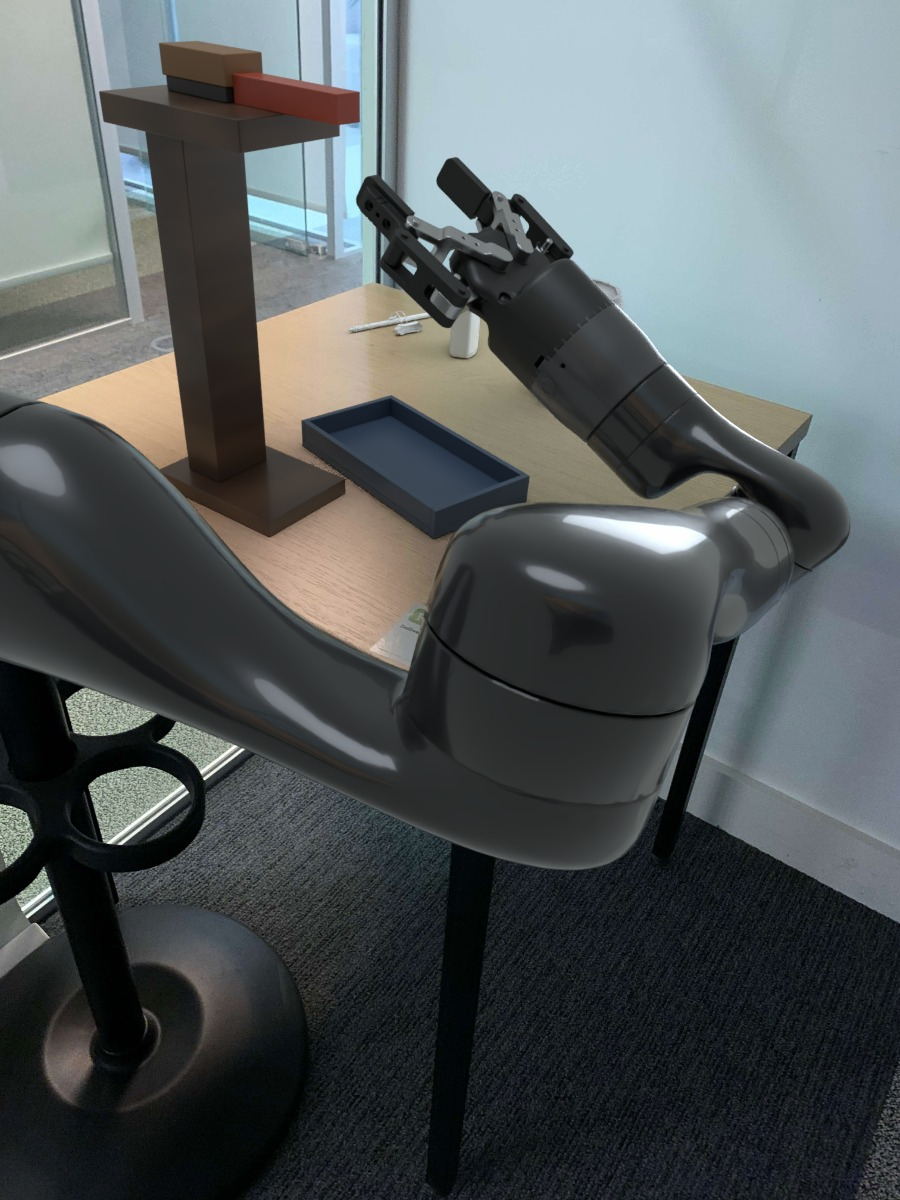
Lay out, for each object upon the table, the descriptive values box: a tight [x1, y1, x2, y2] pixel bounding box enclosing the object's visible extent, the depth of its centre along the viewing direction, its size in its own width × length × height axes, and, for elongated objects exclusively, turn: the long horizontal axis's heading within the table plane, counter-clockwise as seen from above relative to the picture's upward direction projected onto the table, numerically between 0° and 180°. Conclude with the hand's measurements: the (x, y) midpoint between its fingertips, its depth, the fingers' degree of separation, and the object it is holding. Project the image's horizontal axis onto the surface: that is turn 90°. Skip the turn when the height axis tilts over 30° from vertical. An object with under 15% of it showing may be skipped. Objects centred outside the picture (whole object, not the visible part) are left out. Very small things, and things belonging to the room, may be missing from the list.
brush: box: [158, 40, 361, 126], centre depth 63 cm, size 17×4×3 cm, turn 51°
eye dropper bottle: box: [449, 310, 481, 359], centre depth 111 cm, size 4×6×12 cm
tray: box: [300, 394, 531, 540], centre depth 87 cm, size 21×11×3 cm, turn 40°
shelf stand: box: [98, 84, 347, 538], centre depth 74 cm, size 14×10×32 cm
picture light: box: [347, 310, 432, 336], centre depth 119 cm, size 14×4×2 cm, turn 127°
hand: (405, 177), depth 59 cm, fingers open, 8 cm apart
